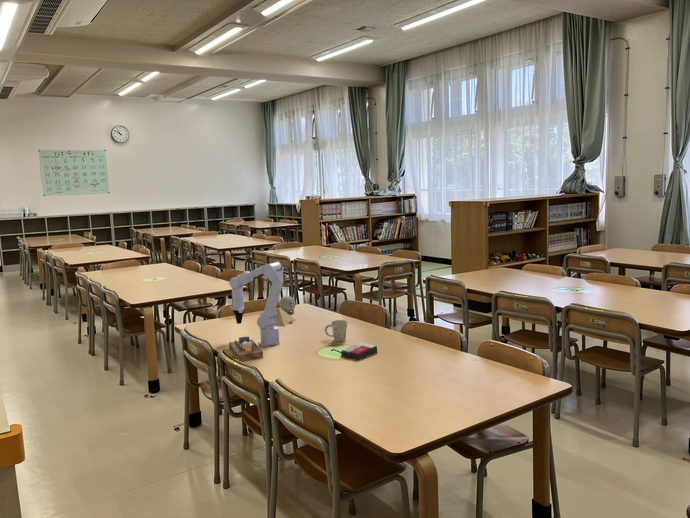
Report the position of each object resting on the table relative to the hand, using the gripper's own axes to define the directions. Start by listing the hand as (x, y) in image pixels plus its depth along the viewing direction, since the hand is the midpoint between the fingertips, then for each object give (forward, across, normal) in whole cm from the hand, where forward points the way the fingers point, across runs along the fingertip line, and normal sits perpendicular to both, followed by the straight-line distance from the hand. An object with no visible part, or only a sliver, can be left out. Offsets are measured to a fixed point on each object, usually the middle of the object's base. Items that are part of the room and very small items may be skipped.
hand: (239, 323), depth 295 cm
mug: (+10, +24, +47) cm, 54 cm away
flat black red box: (+10, +53, +48) cm, 72 cm away
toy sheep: (+10, -51, +42) cm, 67 cm away
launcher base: (+9, +24, -2) cm, 26 cm away
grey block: (+6, +25, -2) cm, 26 cm away
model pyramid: (+10, -28, +30) cm, 43 cm away
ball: (+7, +30, -2) cm, 31 cm away
